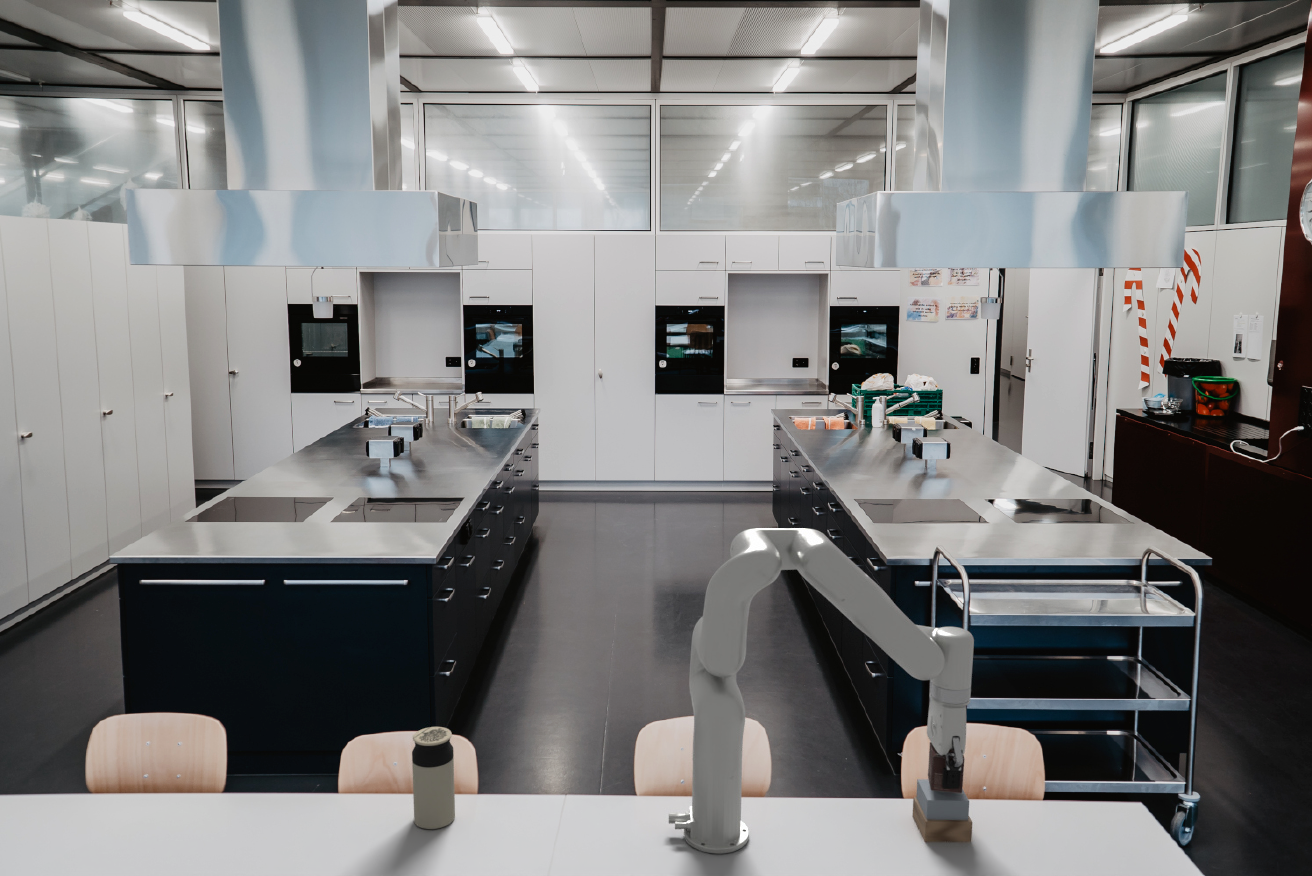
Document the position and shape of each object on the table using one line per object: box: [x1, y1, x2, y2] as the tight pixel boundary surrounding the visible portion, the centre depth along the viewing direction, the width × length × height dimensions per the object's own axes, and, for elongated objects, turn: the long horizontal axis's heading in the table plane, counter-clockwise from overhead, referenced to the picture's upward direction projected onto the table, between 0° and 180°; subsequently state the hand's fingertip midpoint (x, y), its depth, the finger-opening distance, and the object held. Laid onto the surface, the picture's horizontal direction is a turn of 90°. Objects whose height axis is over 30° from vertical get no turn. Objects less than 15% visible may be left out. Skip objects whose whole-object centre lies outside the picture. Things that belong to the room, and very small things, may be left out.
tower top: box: [915, 778, 970, 820], centre depth 187 cm, size 8×8×4 cm
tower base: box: [911, 796, 973, 843], centre depth 188 cm, size 9×9×4 cm
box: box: [927, 741, 966, 793], centre depth 186 cm, size 6×6×7 cm
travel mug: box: [411, 726, 456, 830], centre depth 189 cm, size 8×8×18 cm
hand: (944, 777), depth 186 cm, fingers open, 6 cm apart
